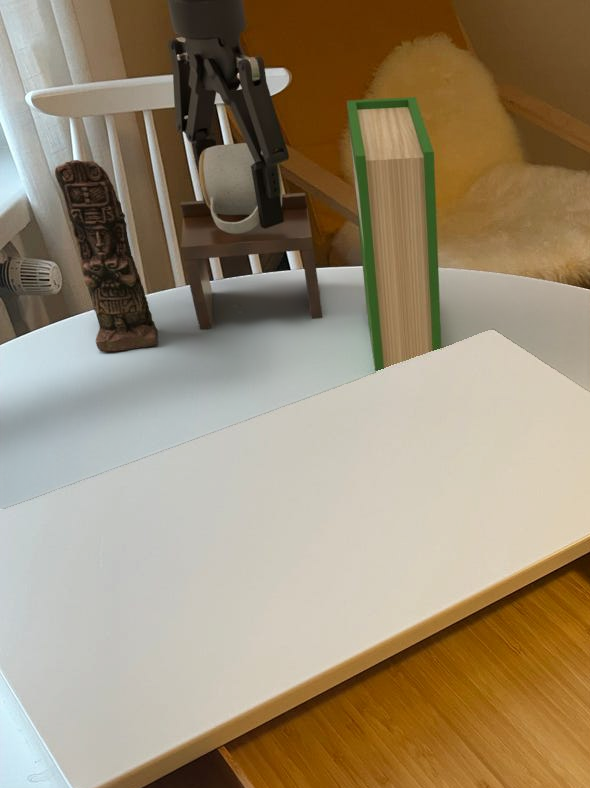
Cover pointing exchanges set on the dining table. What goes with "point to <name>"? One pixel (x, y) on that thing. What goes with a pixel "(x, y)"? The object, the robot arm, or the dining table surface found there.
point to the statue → (106, 257)
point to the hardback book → (396, 227)
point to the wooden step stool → (244, 247)
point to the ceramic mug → (230, 185)
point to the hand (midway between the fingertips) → (243, 212)
